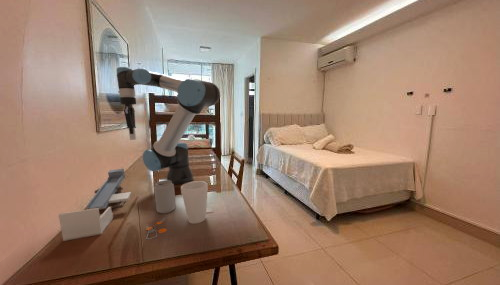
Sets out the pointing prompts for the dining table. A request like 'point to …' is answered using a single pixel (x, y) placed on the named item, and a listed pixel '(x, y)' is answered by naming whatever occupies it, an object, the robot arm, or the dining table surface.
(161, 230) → the key chain
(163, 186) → the can
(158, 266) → the dining table surface
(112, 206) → the fulcrum
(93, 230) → the white rectangular box
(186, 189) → the foam cup
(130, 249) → the dining table surface
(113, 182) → the lever
